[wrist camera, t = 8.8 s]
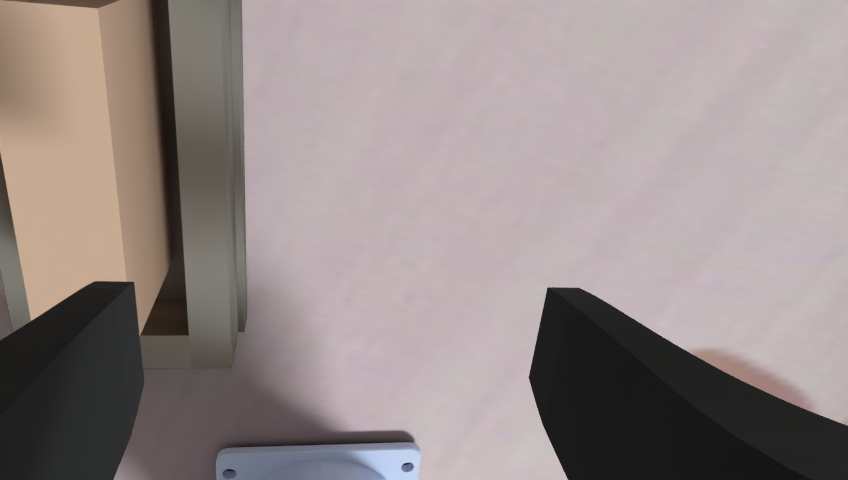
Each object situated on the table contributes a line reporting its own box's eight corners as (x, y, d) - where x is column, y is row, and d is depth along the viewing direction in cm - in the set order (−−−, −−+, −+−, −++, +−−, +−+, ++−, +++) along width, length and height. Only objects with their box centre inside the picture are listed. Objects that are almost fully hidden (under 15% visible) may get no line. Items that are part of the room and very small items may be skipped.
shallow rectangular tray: (246, 316, 23) (237, 367, 20) (49, 315, 22) (12, 369, 19) (240, -72, 18) (226, -71, 15) (-20, -100, 16) (-85, -105, 14)
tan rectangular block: (173, 257, 20) (134, 350, 16) (98, 256, 20) (36, 350, 15) (154, -13, 17) (97, 8, 12) (64, -21, 17) (-28, -3, 12)
